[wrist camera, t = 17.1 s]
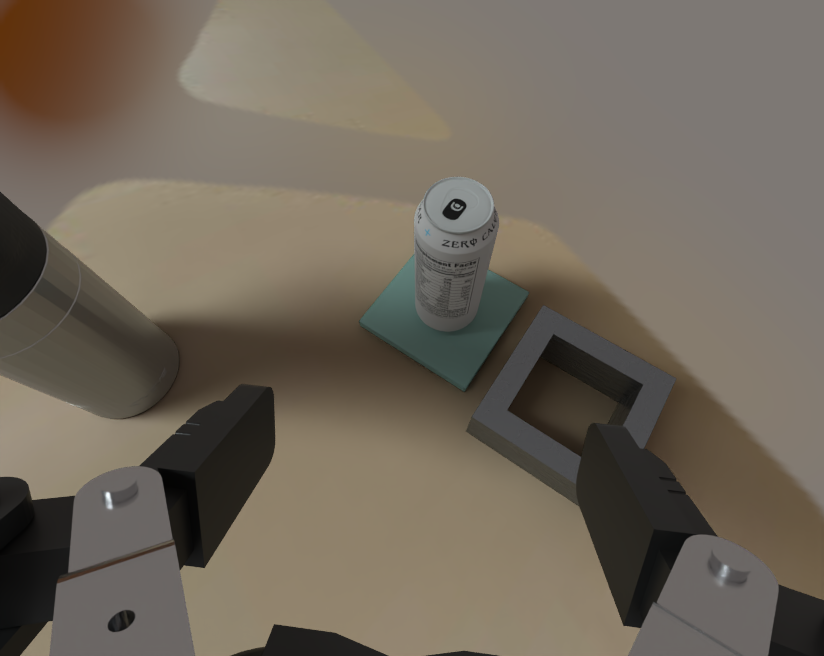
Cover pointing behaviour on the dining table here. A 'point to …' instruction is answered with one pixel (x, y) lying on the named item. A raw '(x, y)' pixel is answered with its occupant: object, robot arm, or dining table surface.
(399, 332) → the mat
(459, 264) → the energy drink can
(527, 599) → the dining table surface
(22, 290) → the robot arm
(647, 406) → the collar block
